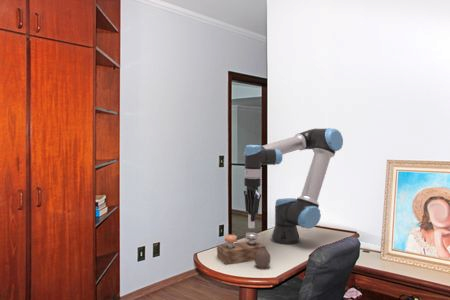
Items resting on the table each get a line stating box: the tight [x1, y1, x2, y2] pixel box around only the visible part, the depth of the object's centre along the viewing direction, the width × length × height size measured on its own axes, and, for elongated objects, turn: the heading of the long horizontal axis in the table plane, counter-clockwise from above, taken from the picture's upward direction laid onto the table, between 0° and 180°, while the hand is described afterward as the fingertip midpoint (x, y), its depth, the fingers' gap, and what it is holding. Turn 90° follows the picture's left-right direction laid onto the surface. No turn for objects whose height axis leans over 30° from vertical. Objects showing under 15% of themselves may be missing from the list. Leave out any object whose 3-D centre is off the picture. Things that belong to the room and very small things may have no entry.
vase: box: [254, 245, 271, 269], centre depth 159 cm, size 7×7×9 cm
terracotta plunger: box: [224, 234, 238, 248], centre depth 167 cm, size 6×6×6 cm
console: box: [216, 240, 266, 266], centre depth 169 cm, size 20×10×6 cm, turn 114°
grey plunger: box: [245, 231, 259, 246], centre depth 171 cm, size 6×6×6 cm
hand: (251, 227), depth 171 cm, fingers closed
